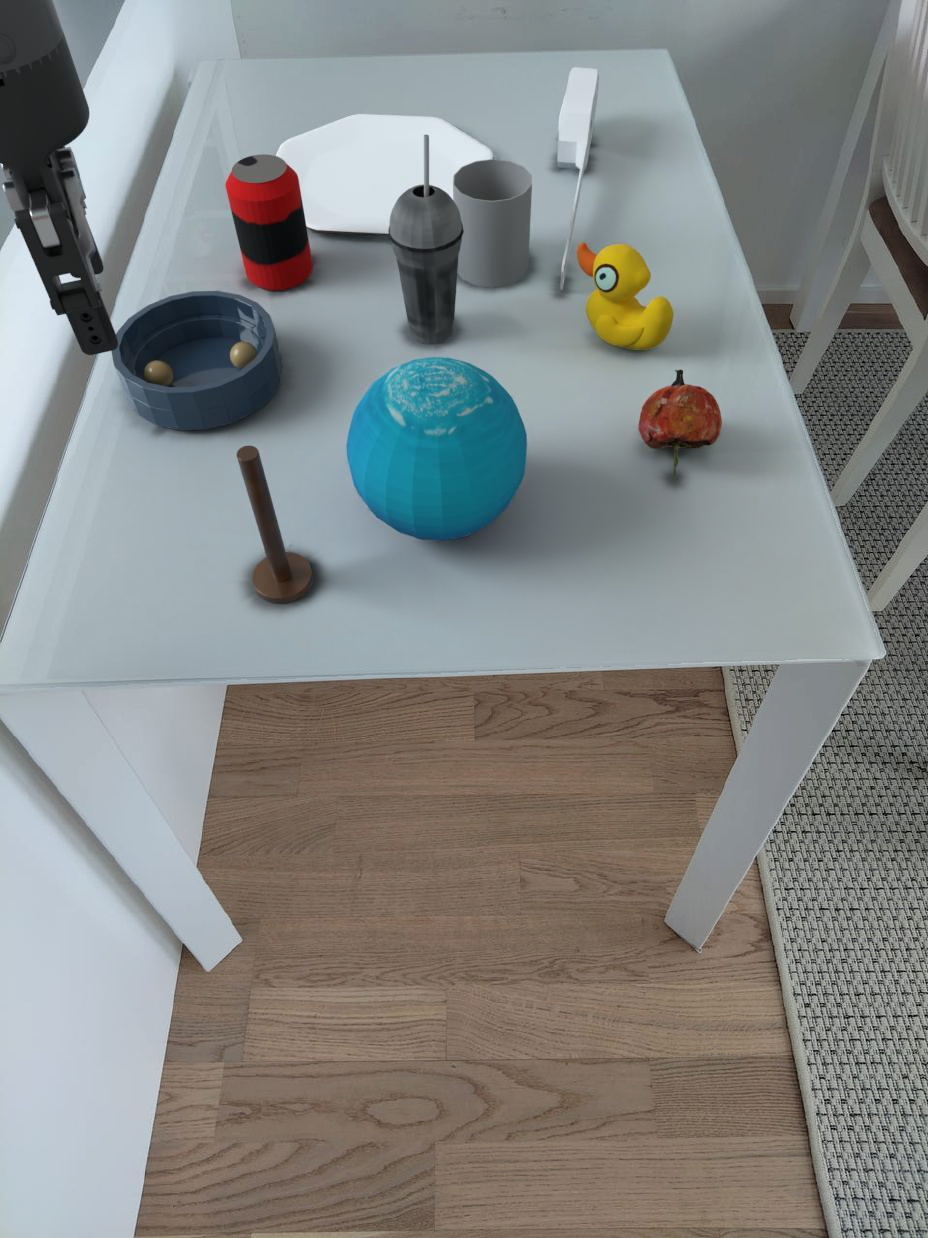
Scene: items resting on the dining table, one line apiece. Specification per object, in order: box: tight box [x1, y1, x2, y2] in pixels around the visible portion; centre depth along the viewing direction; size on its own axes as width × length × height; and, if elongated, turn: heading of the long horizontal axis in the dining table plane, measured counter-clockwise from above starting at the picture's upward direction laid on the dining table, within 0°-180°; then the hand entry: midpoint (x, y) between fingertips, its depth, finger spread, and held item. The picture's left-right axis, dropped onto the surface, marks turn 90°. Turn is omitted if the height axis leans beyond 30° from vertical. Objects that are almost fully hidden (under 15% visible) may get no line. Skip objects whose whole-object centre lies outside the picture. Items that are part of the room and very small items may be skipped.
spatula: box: [556, 66, 600, 292], centre depth 110 cm, size 38×8×4 cm
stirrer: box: [236, 445, 314, 604], centre depth 72 cm, size 5×5×15 cm
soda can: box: [224, 154, 314, 292], centre depth 99 cm, size 8×8×12 cm
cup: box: [453, 158, 533, 289], centre depth 100 cm, size 8×8×10 cm
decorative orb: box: [346, 356, 528, 541], centre depth 76 cm, size 15×15×15 cm
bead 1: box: [144, 360, 173, 387], centre depth 91 cm, size 3×3×3 cm
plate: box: [275, 113, 494, 237], centre depth 115 cm, size 28×28×2 cm
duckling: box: [576, 241, 674, 351], centre depth 92 cm, size 11×5×10 cm, turn 51°
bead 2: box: [230, 342, 258, 370], centre depth 93 cm, size 3×3×3 cm
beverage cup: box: [388, 135, 464, 346], centre depth 90 cm, size 7×7×20 cm
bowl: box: [110, 290, 284, 431], centre depth 91 cm, size 16×16×5 cm
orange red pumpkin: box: [637, 368, 723, 481], centre depth 84 cm, size 7×7×10 cm
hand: (94, 309), depth 60 cm, fingers open, 8 cm apart
